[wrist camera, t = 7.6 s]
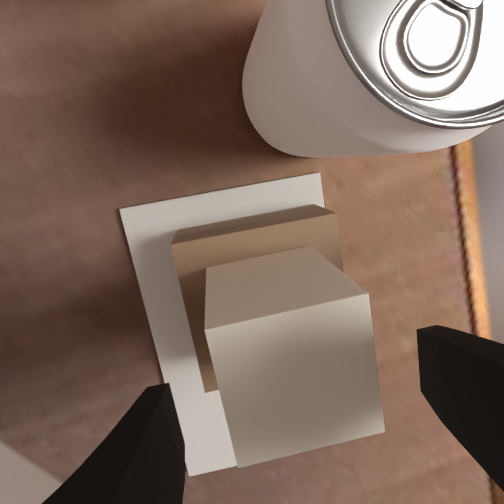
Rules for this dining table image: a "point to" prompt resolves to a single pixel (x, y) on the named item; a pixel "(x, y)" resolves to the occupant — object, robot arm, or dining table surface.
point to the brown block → (244, 257)
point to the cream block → (291, 354)
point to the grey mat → (172, 305)
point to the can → (374, 75)
